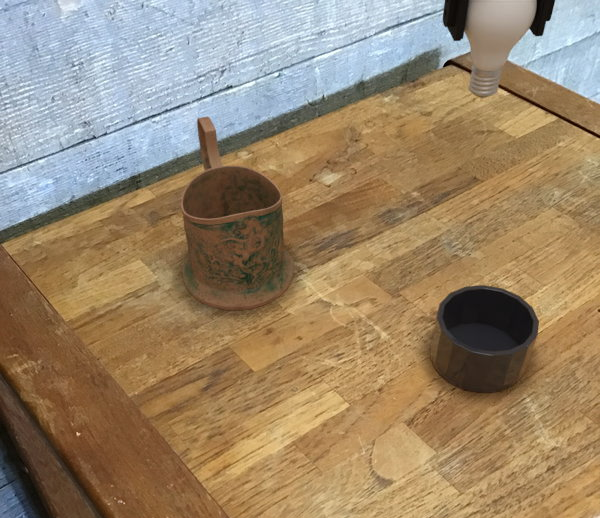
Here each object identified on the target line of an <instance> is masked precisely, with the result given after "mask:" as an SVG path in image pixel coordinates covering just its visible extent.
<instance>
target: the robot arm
mask: <svg viewBox="0 0 600 518" xmlns="http://www.w3.org/2000/svg"><path fill="white" fill-rule="evenodd" d="M555 3H556V0H537V8H536V14H535V17H534V20H533V22H532V24H531V26H530V28H529V31H530V32H531V34H532V35H533V36H535V37H543V36H544V32H545V28H546V24H547V22H550V21H551V19H552V17H553V12H554V7H555ZM468 4H469V0H444V5H443V12H442V24H443V26H444V28H447V30H448V32H449V34H450V36H451V38H452V40H453V41H454V42H458V41H459V42H460V41H461V40H463V39H464V37H465V36H464V34H465V32H464V30H465V23H466V17H467V10H468Z"/></svg>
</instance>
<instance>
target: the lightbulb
mask: <svg viewBox="0 0 600 518" xmlns="http://www.w3.org/2000/svg"><path fill="white" fill-rule="evenodd" d="M536 8H537V0H469V4H468V10H467V17H466V23H465V30H464V34H465V36H466V38H467V41H468V43H469V48H470V60H471V63H472V64H471V65H472V66H471V72H470V75H471V76H469V77H470V79H469V85H468V91H469V92H470V93H471V94H472V95H474V96H476V97H477V98H480V99H484V98H489V97H491V96H494V95H496V94H497V93H498V89H499V85H500V80H501V75H502V72H503V67H504V65H505V64H506V63H507V61H508V59H509V57H510V53H511V51H512V50H513V49H514V47H515V46H516V45H517V44H518V43H519V42H520V41H521V40H522V38H524V36H525V35H526V34H527V32H528V31H530V29H529V28H530V26H531V24H532V22H533V20H534V17H535V14H536Z"/></svg>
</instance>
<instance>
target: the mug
mask: <svg viewBox="0 0 600 518" xmlns="http://www.w3.org/2000/svg"><path fill="white" fill-rule="evenodd" d="M196 127H197V134H198V143H199V149H200V154H201V160H202V165H203V169H204V171H201V172H200V173H198V174H197V175H195V176H194V177H193V178H192V179H191V180H190V181H189V182H188V183H187V185H186V186H185V188H184V190H183V192H182V195H181V198H180V207H181V213H182V217H183V218H182V219H183V229H184V234H185V239H186V242H187V249H188V250H187V251H188V256H187V257H186V259H185V262H184V265H183V267H182V279H183V283H184V286H185V288H186V290H187V291H188V292H189V294H190V295H191V296H192V297H193V298H194V299H196V300H197V301H199V302H200V303H201V304H204V305H206V306H208V307H212V308H214V309H219V310H224V311H244V310H252V309H256V308H259V307H262V306H265V305H267V304H270V303H271V302H273V301H275V300H276V299H278V298H280V297H281V296H282V295H283V294H284V293H285V292H286V291H287V290H288V288H289V287H290V286H291V284H292V282H293V279H294V275H295V274H294V273H295V267H294V261H293V258H292V256H291V254H290V253H289V251H287V249H286V248H284V247H285V241H284V212H283V193H282V191H281V190H280V188H279V187H278V186H277V185H276V184H275V182H274V181H272V179H270V178H269V177H268V176H267V175H265V174H263V173H262V172H261V171H258V170H256V169H254V168H251V167H248V166H243V165H235V164H234V165H231V164H230V165H228V164H227V165H223V164H222V161H221V157H220V156H221V155H220V151H219V145H218V137H217V129H216V127H215V125H214V122H213V121H212V119H211V118H210V116H201V117H198V118H197V119H196Z"/></svg>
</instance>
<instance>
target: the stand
mask: <svg viewBox="0 0 600 518" xmlns="http://www.w3.org/2000/svg"><path fill="white" fill-rule="evenodd" d="M434 323H435V324H434V328H433V333H432V334H433V335H432V339H431V345H430V358H431V364H432V365H433V367H434V369H435V371H436V372H437V373H438V374H439V376H440V377H442V378H443V379H444V380H445V381H447V382H448V383H449V384H451V385H452V386H455V387H457V388H458V389H462V390H465V391H468V392H473V393H478V394H480V393H481V394H488V393H489V394H490V393H498V392H501V391H504V390H507V389H509V388H510V387H513V386H514V385H515V384H516V383H518V382H519V381H520V380H521V378H522V377H523V376H524V373H525V371H526V370H527V367H528V365H529V362H530V358H531V356H532V353H533V350H534V347H535V344H536V341H537V338H538V335H539V327H540V325H539V324H540V320H539V318H538V316H537V314H536V312H535V309H534V308H533V306H531V304H530V303H528V302H527V301H526V300H525V299H524V298H523V297H522V296H520V295H518V294H516V293H514V292H511V291H510V290H507V289H506V288H502V287H497V286H492V285H486V284H480V285H479V284H478V285H470V286H469V285H468V286H464V287H461V288H459V289H456V290H454V291H451V292H449V293H448V294H447V296H445V298H443V299H442V300H441V302H440V303H439V304H438V309H437V313H436V319H435V322H434Z"/></svg>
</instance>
